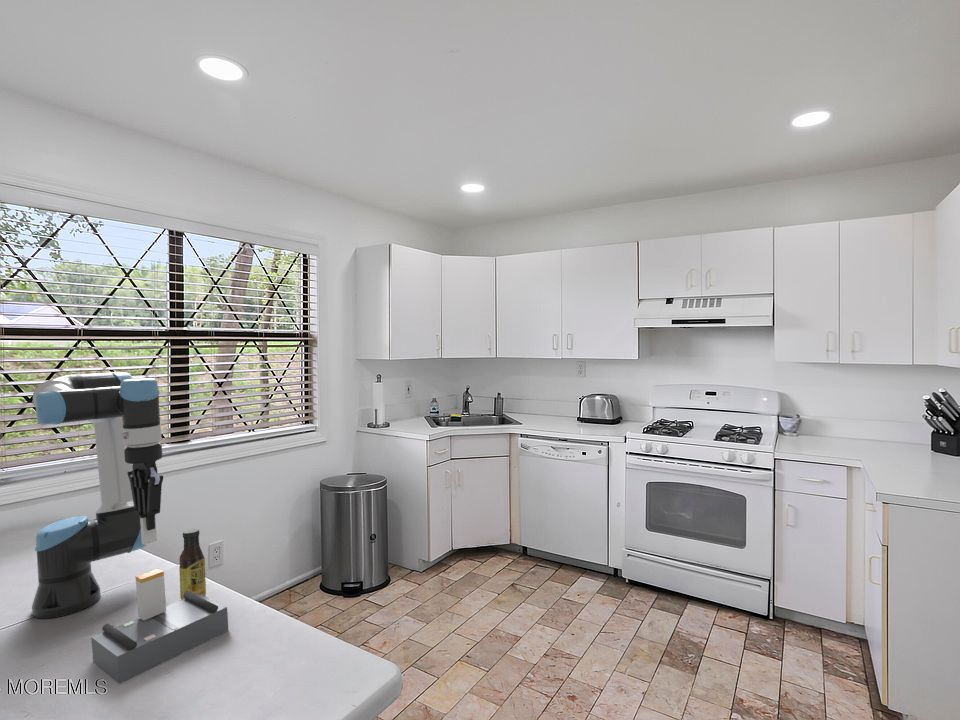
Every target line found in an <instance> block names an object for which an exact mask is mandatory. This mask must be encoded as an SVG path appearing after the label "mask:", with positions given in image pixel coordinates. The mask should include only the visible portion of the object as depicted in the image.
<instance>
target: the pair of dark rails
mask: <svg viewBox="0 0 960 720" xmlns="http://www.w3.org/2000/svg"><path fill="white" fill-rule="evenodd" d="M183 597H184V598H186V599H188V600H190V601H192V602H194V603H196V604H198V605H199V606H201V607H203V608H205V609H207V610H209V611H211V612H213V613H214V612H216V611H217V610H218V606H217V605H215V604H213V603H211V602H209V601H207V600H204V599H202V598H200V597H198V596H196V595H194V594H192V593H190V592H188V591H187V592H185V593H184V595H183ZM115 627H116V626H113V625H111V624H110V623H104V625H103V626H102V627H101V629H102V631H103V632H106V633H107V634H109V635H110V636H112V637H113V638H114V639H116V640H117V641H119V642H120V643H121V644H123V645H124V646H126V647H127V648H128V649H130V650H133V649H134V648H135V647H136V646H137V643H136V642H135V641H134V640H132V639H131V638H129V637H128V636H126V635H125V634H123V633H122V632H120V631H119V630H117V629H116V628H115Z"/></svg>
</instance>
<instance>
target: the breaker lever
mask: <svg viewBox="0 0 960 720" xmlns="http://www.w3.org/2000/svg"><path fill="white" fill-rule="evenodd" d="M135 585H136V586H135V588H136V589H135V590H136V603H137V615H138V616H137V618H140V619H142V620H147V619H149V618H152V617H154V616H156V615H159V614H161V613H163V612H166V606H167V603H166V588H165V587H166V585H165V571H164V570H162V569H159V568H156V569H152V570H150V571H147V572H143V573H141V574H139V575H136V576H135Z"/></svg>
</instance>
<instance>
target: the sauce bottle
mask: <svg viewBox="0 0 960 720" xmlns="http://www.w3.org/2000/svg"><path fill="white" fill-rule="evenodd" d="M182 538H183V550H182V552H181V554H180V556H179V588H180V589H179V595H180V596H179V597H180V600H182V599H185V598H184V597H183V595H184V593H185V592H187V591H188V592H190V593H192V594H194V595H195V594H197V593H200V594H202V595H204V596H206V595H207V588H206V587H207V584H206V582H207V581H206V561H205V559H206V558H205V556H204V554H203V551H202V548H201V546H200V529H199V528H191V529H187V530H184V531H182ZM206 597H207V596H206Z"/></svg>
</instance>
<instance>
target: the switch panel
mask: <svg viewBox="0 0 960 720" xmlns="http://www.w3.org/2000/svg"><path fill="white" fill-rule="evenodd" d="M195 595H196V596H198V597H200V598H202V599H204V600H207V601H209V602H211V603H213V604H215V605H217V606H218V610H217V611H216V612H214V613H213V612H211V611H209V610H207V609H205V608H203V607H201V606H199V605H198V604H196V603H194V602H192V601H190V600H188V599H186V598H185V599H182V600H181V599H180V600H177V601H176V602H173V603H171V604H167V605H166V612H163V613H161V614H159V615H156V616H154V617H152V618H149V619H147V620H142V619H140V618H139V617H137V618H134V619H132V620H129V621H127V622H125V623H122V624H119V625H117V626H114V627H115V628H116V629H117V630H119V631H120V632H122V633H123V634H125V635H126V636H128V637H129V638H131V639H132V640H134V641H135V642H136V643H137V646H136V647H135V648H134V649H133V650H130V649H128V648H127V647H126V646H124V645H123V644H121V643H120V642H119V641H117V640H116V639H114V638H113V637H112V636H110V635H109V634H107V633H106V632H104V631H103V632H100V633H97V634H95V635H93V636H90V637H91V651H92V653H91V654H92V663H93V664H94V665H95V666H96V667H97V668H99V670H101V671H103V673H105V674H106V675H108V676H109V677H110V678H111V679H112V680H113V681H115V682H116V683H117V684H118V685H120V684H122V683H125V682H126V681H129V680H131V679H133V678H134V677H137V676H139V675H141V674H143V673H145V672H147V671H149V670H150V669H153V668H155V667H157V666H159V665H161V664H163V663H165V662H167V661H169V660H171V659H174V658H176V657H177V656H180V655H182V654H184V653H185V651H186V652H187V650H188V651H190V650H192V649H194V648H196V647H198V646H200V645H202V644H204V643H206V642H208V641H210V640H212V639H215V638H216V637H219V636H220V635H223V634H224V633H227V632H229V631H228V630H229V619H228V617H229V616H228V607H227V606H226V605H224V604H222V603H220V602H219V601H215V600H214V599H212V598H210V597H207V596H204V595H202V594H200V593H197V594H195ZM226 631H227V632H226ZM193 647H194V648H193ZM191 648H192V649H191ZM189 649H190V650H189ZM183 652H184V653H183ZM181 653H182V654H181Z"/></svg>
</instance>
